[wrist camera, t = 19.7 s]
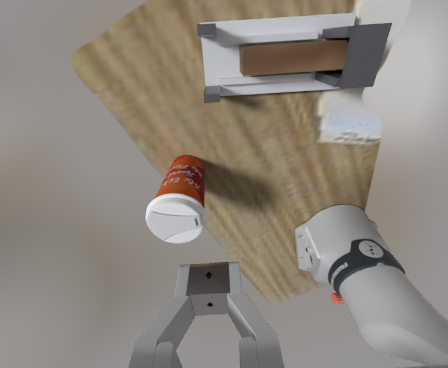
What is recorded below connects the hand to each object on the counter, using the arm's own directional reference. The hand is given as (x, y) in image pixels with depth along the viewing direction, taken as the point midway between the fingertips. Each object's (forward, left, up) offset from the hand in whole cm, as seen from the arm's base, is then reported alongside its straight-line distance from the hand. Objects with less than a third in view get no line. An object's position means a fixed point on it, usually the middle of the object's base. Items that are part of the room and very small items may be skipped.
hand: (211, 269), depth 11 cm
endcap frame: (+7, -9, -29) cm, 31 cm away
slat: (+8, -11, -28) cm, 31 cm away
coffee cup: (-10, +6, -29) cm, 32 cm away
